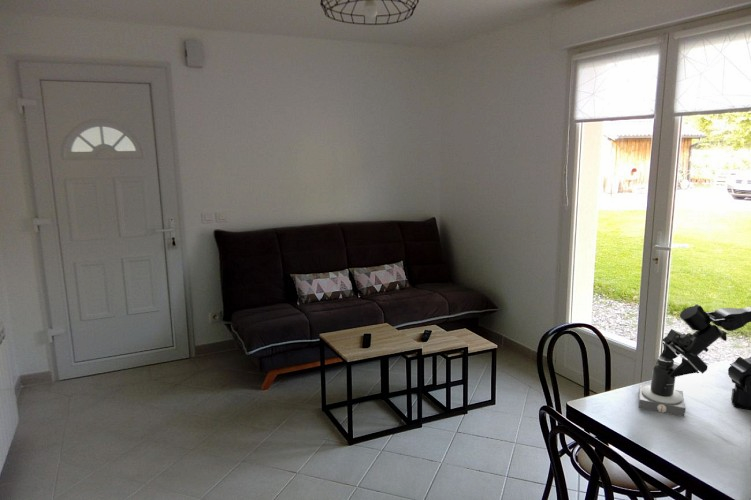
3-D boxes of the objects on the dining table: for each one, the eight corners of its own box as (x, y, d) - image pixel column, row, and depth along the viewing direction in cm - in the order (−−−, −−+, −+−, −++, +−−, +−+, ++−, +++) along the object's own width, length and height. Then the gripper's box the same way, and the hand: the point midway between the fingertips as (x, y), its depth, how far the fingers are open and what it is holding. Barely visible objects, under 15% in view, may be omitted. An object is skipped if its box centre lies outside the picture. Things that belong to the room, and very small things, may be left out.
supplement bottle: (671, 399, 170) (675, 365, 168) (648, 393, 174) (651, 359, 172) (675, 391, 175) (679, 358, 173) (652, 386, 179) (656, 353, 177)
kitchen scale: (681, 399, 178) (682, 389, 177) (684, 417, 166) (685, 406, 165) (639, 391, 184) (640, 381, 183) (639, 408, 172) (640, 398, 171)
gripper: (670, 313, 178) (635, 343, 181) (701, 332, 160) (661, 365, 163) (691, 335, 179) (656, 365, 182) (724, 357, 161) (684, 389, 164)
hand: (663, 370), depth 173 cm, fingers open, 9 cm apart
